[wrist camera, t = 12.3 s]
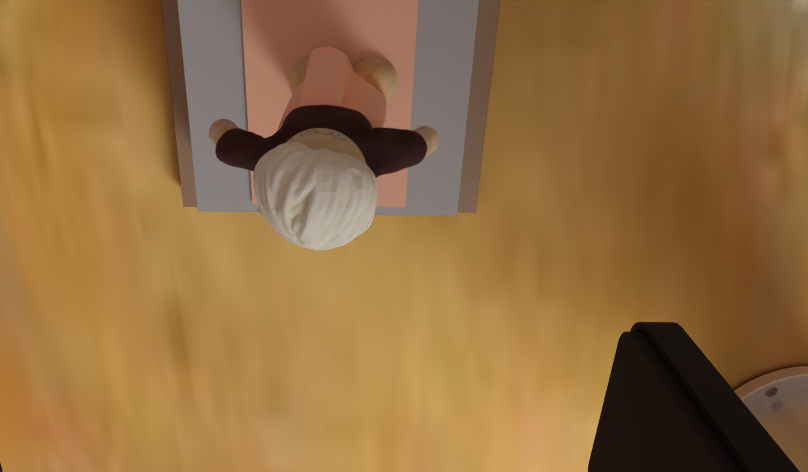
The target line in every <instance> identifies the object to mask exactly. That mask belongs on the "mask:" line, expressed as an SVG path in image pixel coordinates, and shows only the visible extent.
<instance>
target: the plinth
mask: <svg viewBox="0 0 808 472" xmlns="http://www.w3.org/2000/svg"><path fill="white" fill-rule="evenodd" d="M161 3H162V12H163V22H164V31H165V40H166V50H167V59H168V68H169V78H170V87H171V96H172V105H173V115H174V124H175V133H176V143H177V152H178V161H179V171H180V180H181V189H182V199H183V207H198V211H219V212H259V211H257V208H259V204H258V202H257V199H256V196H255V190H254V183H253V173H254V171H250V170H247V169H243V168H238V167H233V166H229V165H227V164H225V163H223V162H221V161H220V160H219V159H218V158H217V157H216V153H215V149H216V146H215V145H214V144H213V143H212V141H211V139H210V137H209V129H210V127H211V125H212V123H214V122H215V121H217V120H219V119H228V120H231V121H232V122H234V123H235V124H236V125H237V126H238V128H240V129H243V130H246V131H250V132H253V133H255V134H258V135H260V136H262V137H264V138H267V137H269V136H272V135H273V134H275V133H276V132H277V131H278V127H279V124H280V121H281V119H282V116H283V113H284V111H285V109H286V107H287V105H288V102H289V100H290V99H291V97H292V95H293V93H292V89H291V85H290V73H291V70H292V68H293V67H294V65H295V64H296V63H298V62H299V61H300V60H303V59H306V58H309V57H310V55H311V52H312V51H313V50H314V49H316V48H319V47H332V48H335V49H337V50H339V51H341V52H343V53H344V54H345V55H346V56H347V58H348V60H349V61H350V63H351V65H352V67H353V68H354V67H355V65H356V64H357V63H359V62H360V61H362V60H364V59H367V58H377V59H381V60H384V61H386V62H388V63H389V64H390V65H391V66H392V67H393V68H394V70H395V71H396V73H397V78H398V82H397V87H396V90H395V92H394V95H393V97H392V99H391V101H390V103H389V105H388V107H387V113H386V122H385V127H384V128H396V129H407V130H410V131H411V130H414V129H416V128H418V127H420V126H429V127H432V128H433V129H434V130H436V132H437V134H438V137H439V144H438V147H437V148H436V150H435V151H434V152H432V153H431V154H429V155H427V156H426V157H425V158H424V159H423V161H421V162H420V163H419V164H417V165H415V166H412V167H408V168H405V169H402V170H400V171H398V172H394V173H390V174H384V175H381V176H379V177H377V178H376V183H377V191H378V199H377V204H376V210H375V215H421V216H457V212H473V213H476V204H477V195H478V187H479V178H480V169H481V161H482V152H483V143H484V135H485V126H486V117H487V109H488V100H489V91H490V83H491V74H492V65H493V57H494V48H495V39H496V31H497V22H498V13H499V4H500V0H161Z"/></svg>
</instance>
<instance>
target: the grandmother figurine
mask: <svg viewBox="0 0 808 472" xmlns="http://www.w3.org/2000/svg"><path fill="white" fill-rule="evenodd" d="M397 82H398V78H397V73H396V71H395V70H394V68H393V67H392V66H391V65H390V64H389V63H388V62H386V61H384V60H381V59H377V58H367V59H364V60H362V61H360V62H359V63H357V64H356V65H355V67H354V68H353V67H352V65H351V63H350V61H349V60H348V58H347V56H346V55H345V54H344V53H343V52H341V51H339V50H337V49H335V48H332V47H319V48H316V49H314V50H313V51H312V52H311V55H310V57H309V58H306V59H303V60H300V61H299V62H298V63H296V64H295V65H294V67H293V68H292V70H291V73H290V85H291V89H292V93H293V95H292V97H291V99H290V100H289V102H288V105H287V107H286V109H285V111H284V113H283V116H282V119H281V121H280V124H279V127H278V131H277V132H276V133H275V134H273V135H272V136H269V137H267V138H264V137H262V136H260V135H258V134H255V133H253V132H250V131H246V130H243V129H240V128H238V126H237V125H236V124H235V123H234V122H232V121H231V120H228V119H219V120H217V121H215V122H214V123H212V125H211V127H210V129H209V137H210V139H211V141H212V143H213V144H214V145H215V146H216V149H215V153H216V157H217V158H218V159H219V160H220V161H221V162H223V163H225V164H227V165H229V166H233V167H238V168H243V169H247V170H250V171H254V173H253V183H254V190H255V196H256V199H257V202H258V204H259V208H257V211H259V212H260V213H261V215H262V216H263V217H264V218H265V219H266V220H267V221H268V223H269V224H270V225H271V227H272V228H273V229H275V230H276V231H277V232H278V234H279V235H280V236H281V237H282V238H284V239H286V240H288V241H289V242H291V243H292V244H294V245H296V246H300V247H303V248H310V249H313V250H329V249H332V248H335V247H339V246H343V245H345V244H347V243H349V242H350V241H351V240H352V239H353V238H355V237H357V236H359V235H360V234H362V233H363V232H364V231H366V230H367V229H368V227H369V226H370V225H371V222H372V220H373V218H374V215H375V210H376V204H377V199H378V191H377V183H376V178H377V177H379V176H381V175H384V174H390V173H394V172H398V171H400V170H402V169H405V168H408V167H412V166H415V165H417V164H419V163H420V162H421V161H423V159H424V158H425V157H426V156H427V155H429V154H431V153H432V152H434V151H435V150H436V148H437V147H438V144H439V137H438V134H437V132H436V130H434V129H433V128H432V127H429V126H420V127H418V128H416V129H414V130H411V131H410V130H407V129H396V128H384V127H385V122H386V113H387V107H388V105H389V103H390V101H391V99H392V97H393V95H394V92H395V90H396V87H397Z"/></svg>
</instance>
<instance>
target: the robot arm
mask: <svg viewBox="0 0 808 472" xmlns="http://www.w3.org/2000/svg"><path fill="white" fill-rule="evenodd" d="M0 472H2V467H1V464H0ZM588 472H808V366H798V367H792V368H785V369H780V370H777V371H774V372H771V373H767V374H764V375H762V376H760V377H758V378H756V379H753V380H751V381H749V382H747V383H746V384H744V385H743V386H741V387H739V388H738V389H736V390H733V389H732V388H731V387H730V386H729V384H728V383H727V382H726V381H725V379H724V378H723V377H722V376H721V375H720V373H719V372H718V371H717V370H716V368H715V367H714V366H713V365H712V364H711V362H710V361H709V360H708V359H707V357H706V356H705V355H704V354H703V353H702V351H701V350H700V349H699V348H698V346H697V345H696V344H695V343H694V342H693V340H692V339H691V338H690V337H689V335H688V334H687V333H686V332H685V331H684V329H683V328H682V327H681V326H680V325H679V324H677V323H673V322H638V323H635V324H634V325H633V327H632V328H631V331H630V332H624V333H622V334H621V336H620V338H619V341H618V345H617V350H616V354H615V358H614V362H613V366H612V370H611V374H610V378H609V382H608V387H607V391H606V395H605V399H604V403H603V407H602V411H601V415H600V419H599V423H598V428H597V432H596V436H595V440H594V444H593V448H592V452H591V456H590V460H589V465H588Z"/></svg>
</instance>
